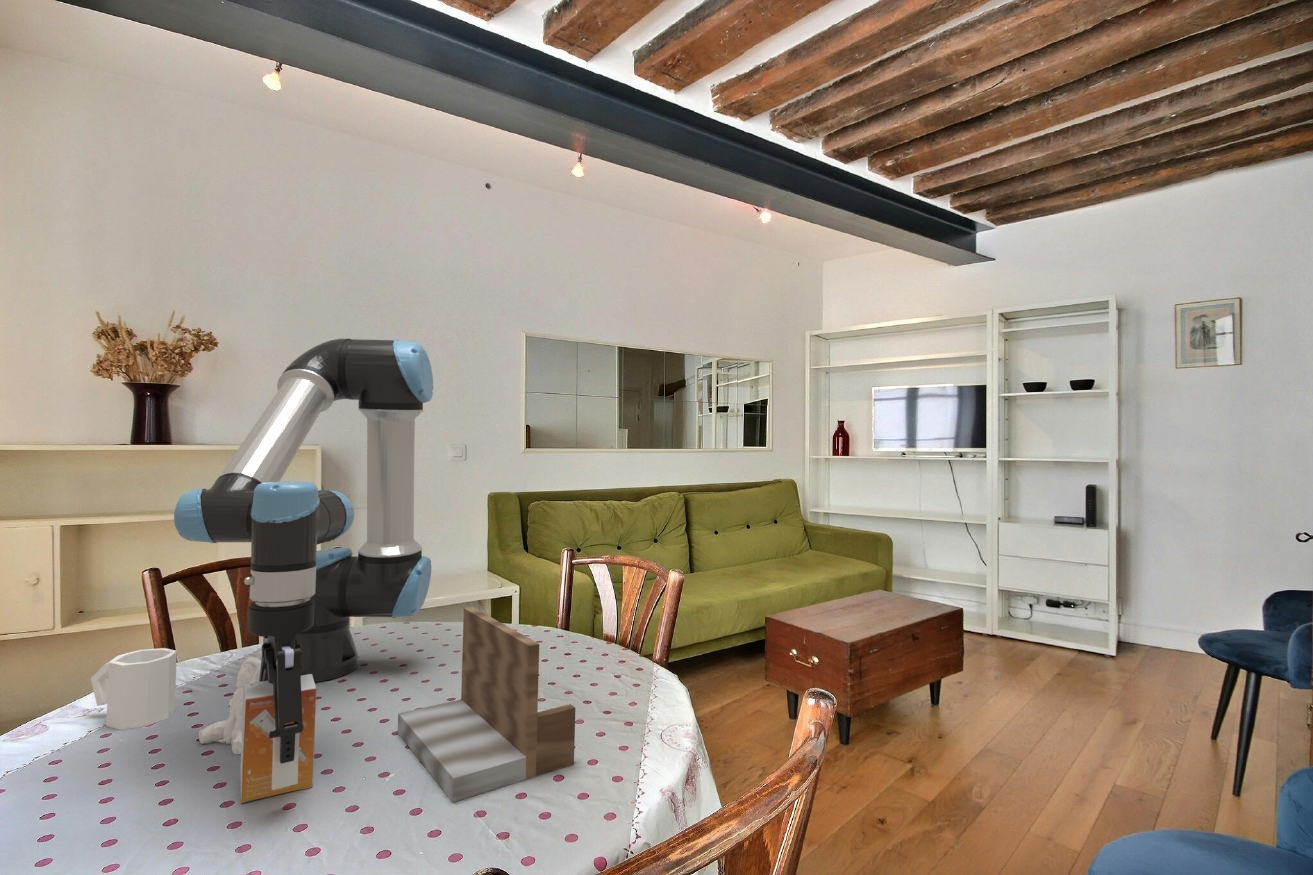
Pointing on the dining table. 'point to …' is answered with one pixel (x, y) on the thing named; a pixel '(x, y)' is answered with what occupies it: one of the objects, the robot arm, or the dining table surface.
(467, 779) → the wall board
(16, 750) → the dining table surface
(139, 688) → the mug
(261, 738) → the small box
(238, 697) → the sitting furry creature
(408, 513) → the robot arm
